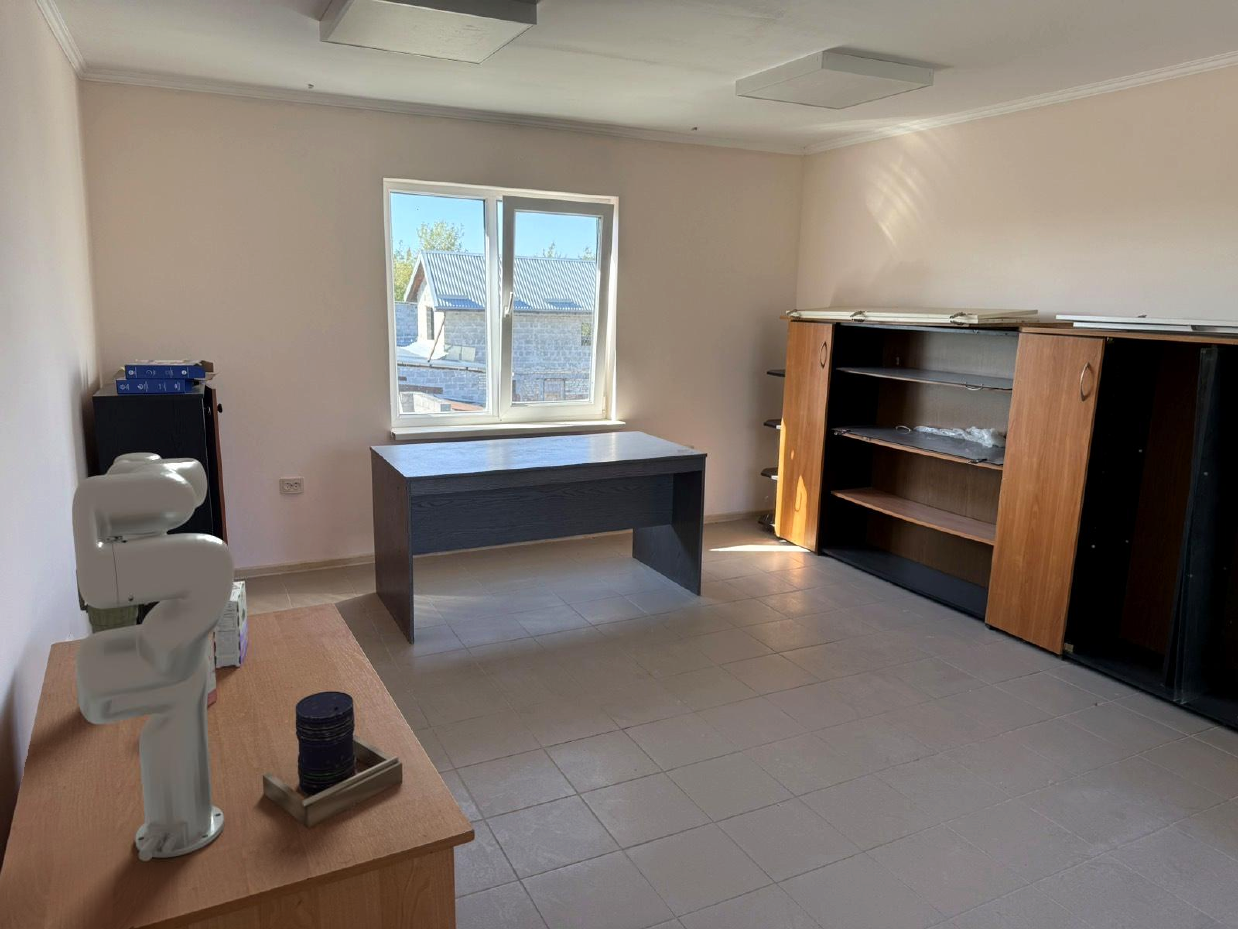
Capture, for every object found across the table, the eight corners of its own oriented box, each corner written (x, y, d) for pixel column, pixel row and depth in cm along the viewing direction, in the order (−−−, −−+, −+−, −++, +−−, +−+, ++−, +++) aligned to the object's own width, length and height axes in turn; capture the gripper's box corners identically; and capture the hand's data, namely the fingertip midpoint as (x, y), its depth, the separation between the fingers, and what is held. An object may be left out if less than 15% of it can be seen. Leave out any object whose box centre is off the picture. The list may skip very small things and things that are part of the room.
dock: (263, 793, 143) (262, 771, 142) (355, 751, 157) (354, 731, 156) (309, 828, 134) (308, 805, 133) (402, 780, 148) (402, 759, 147)
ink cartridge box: (197, 697, 176) (193, 633, 173) (217, 700, 175) (213, 635, 172) (168, 716, 167) (163, 649, 165) (189, 719, 166) (184, 652, 164)
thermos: (151, 700, 174) (138, 541, 167) (85, 710, 169) (69, 547, 162) (154, 682, 181) (142, 530, 175) (91, 691, 176) (76, 535, 170)
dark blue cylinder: (286, 785, 145) (282, 708, 143) (329, 759, 154) (326, 686, 151) (325, 803, 141) (322, 723, 138) (368, 775, 149) (366, 700, 146)
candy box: (223, 645, 202) (219, 581, 199) (249, 643, 204) (245, 580, 200) (214, 669, 189) (209, 601, 186) (242, 666, 191) (238, 599, 188)
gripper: (184, 528, 141) (191, 628, 145) (147, 512, 150) (155, 606, 154) (138, 536, 136) (146, 640, 139) (102, 519, 145) (111, 617, 148)
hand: (151, 622), depth 147 cm, fingers closed
